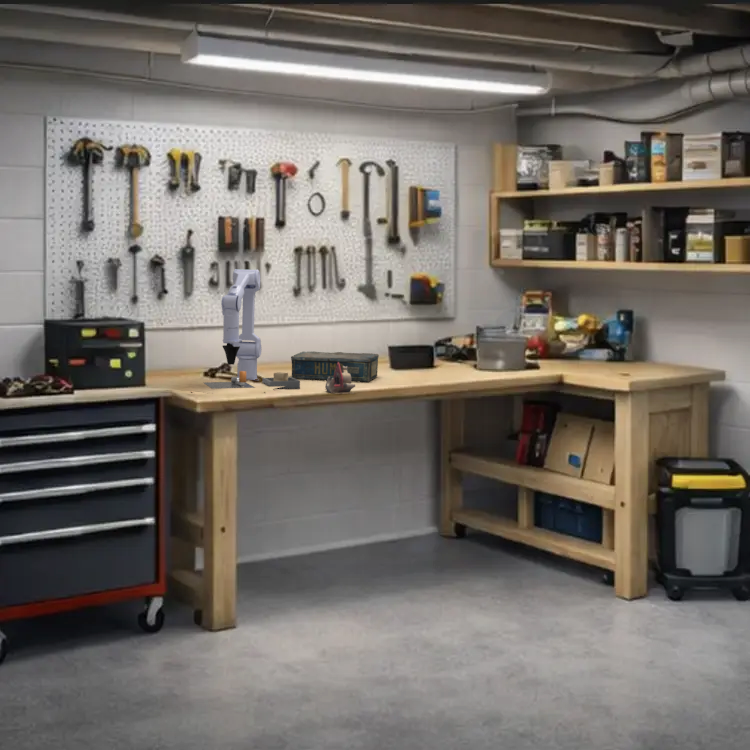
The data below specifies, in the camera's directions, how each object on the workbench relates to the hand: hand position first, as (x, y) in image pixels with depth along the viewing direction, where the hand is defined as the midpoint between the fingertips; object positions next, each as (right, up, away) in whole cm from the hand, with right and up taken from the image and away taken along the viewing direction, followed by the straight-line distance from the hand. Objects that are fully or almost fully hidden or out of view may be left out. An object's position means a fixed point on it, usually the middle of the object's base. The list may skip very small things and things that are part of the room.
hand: (231, 364), depth 438 cm
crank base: (-1, -9, +5) cm, 10 cm away
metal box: (+37, -6, +43) cm, 57 cm away
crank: (+2, -7, +7) cm, 10 cm away
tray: (+18, -9, +11) cm, 22 cm away
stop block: (+18, -8, +11) cm, 22 cm away
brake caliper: (+40, -10, +1) cm, 41 cm away
